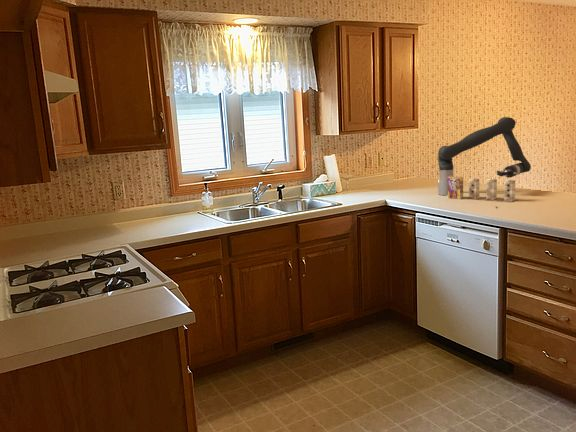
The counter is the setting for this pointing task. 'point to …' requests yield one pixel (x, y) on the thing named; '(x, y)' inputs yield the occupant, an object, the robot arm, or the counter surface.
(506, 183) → the dotted block right
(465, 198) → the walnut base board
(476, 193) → the dotted block left
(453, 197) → the candy box
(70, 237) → the counter surface
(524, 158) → the robot arm
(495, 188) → the plain birch block
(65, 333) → the counter surface
